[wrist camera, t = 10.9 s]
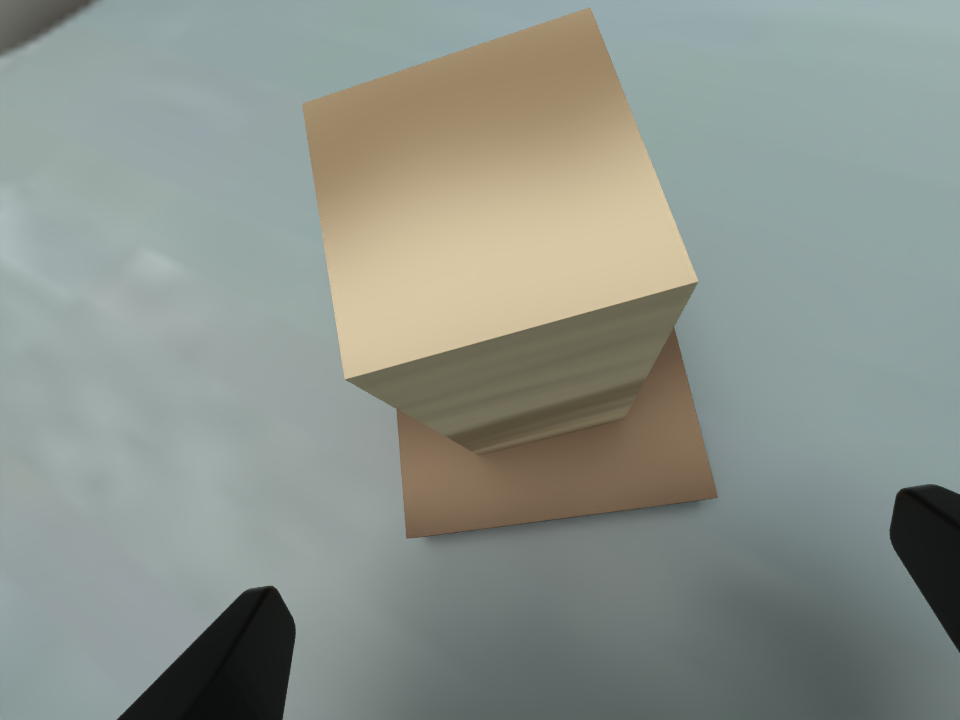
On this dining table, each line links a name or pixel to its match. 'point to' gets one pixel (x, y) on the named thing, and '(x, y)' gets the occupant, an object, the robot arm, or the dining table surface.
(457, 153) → the maple block
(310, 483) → the dining table surface
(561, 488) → the walnut slab
